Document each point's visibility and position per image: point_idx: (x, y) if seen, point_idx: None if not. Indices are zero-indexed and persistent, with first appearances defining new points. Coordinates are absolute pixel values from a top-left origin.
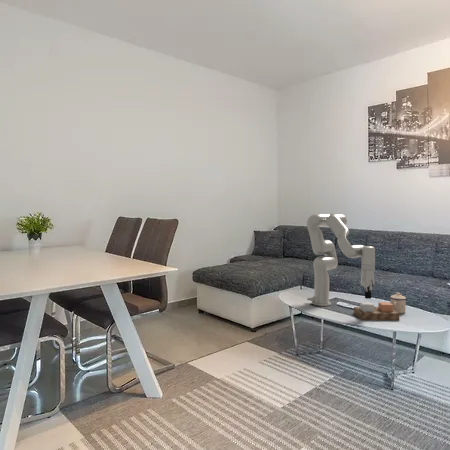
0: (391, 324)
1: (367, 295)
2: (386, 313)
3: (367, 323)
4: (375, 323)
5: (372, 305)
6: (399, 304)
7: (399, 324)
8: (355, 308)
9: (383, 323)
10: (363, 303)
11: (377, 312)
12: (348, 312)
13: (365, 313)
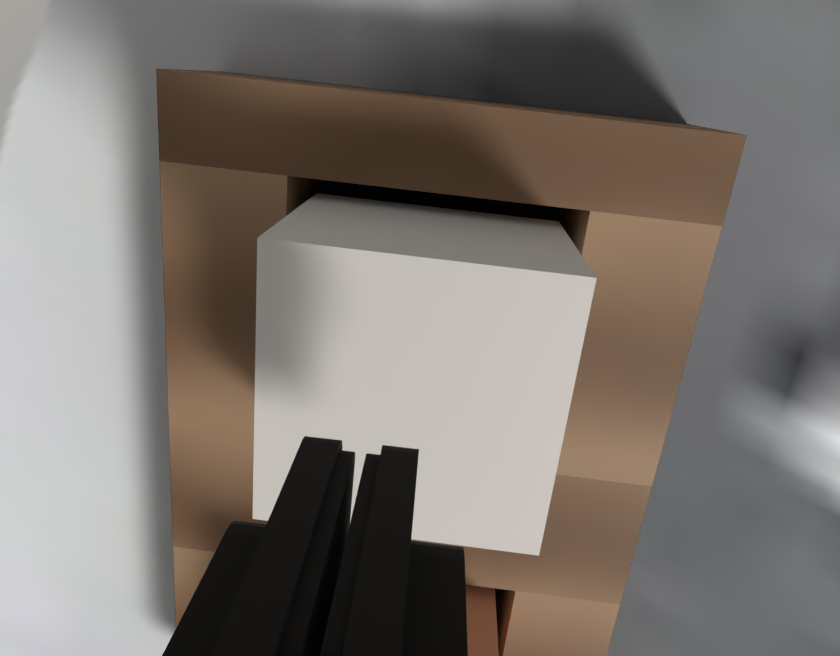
0: (10, 470)
1: (217, 561)
2: (174, 583)
3: (16, 101)
4: (33, 252)
5: (258, 473)
6: None
7: (24, 570)
8: (607, 119)
9: (47, 382)
10: (416, 306)
11: (229, 463)
12: (801, 38)
13: (160, 175)
